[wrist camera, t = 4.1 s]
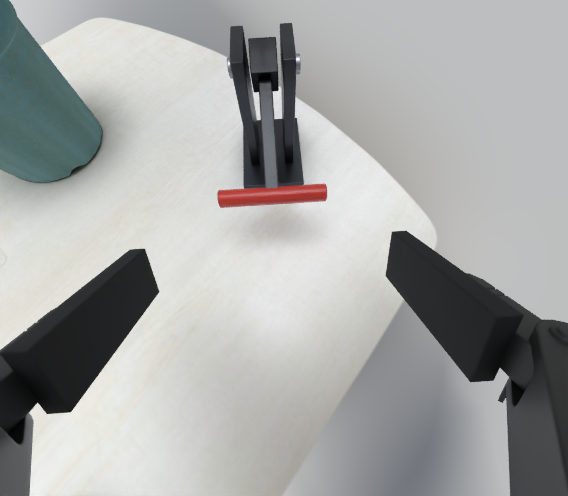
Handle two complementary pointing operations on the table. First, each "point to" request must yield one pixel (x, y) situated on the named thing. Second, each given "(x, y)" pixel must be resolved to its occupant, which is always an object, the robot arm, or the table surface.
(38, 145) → the flower pot
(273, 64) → the lever
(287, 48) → the bracket
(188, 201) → the table surface
